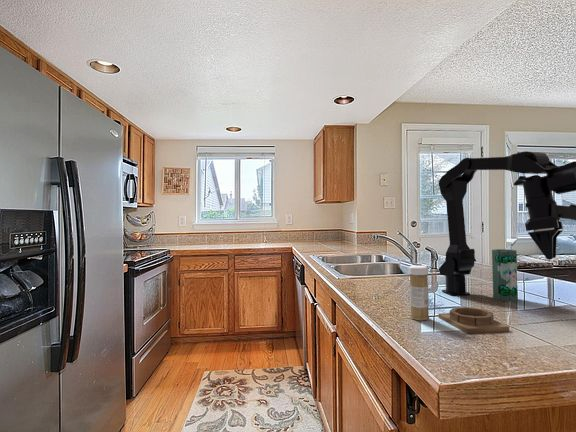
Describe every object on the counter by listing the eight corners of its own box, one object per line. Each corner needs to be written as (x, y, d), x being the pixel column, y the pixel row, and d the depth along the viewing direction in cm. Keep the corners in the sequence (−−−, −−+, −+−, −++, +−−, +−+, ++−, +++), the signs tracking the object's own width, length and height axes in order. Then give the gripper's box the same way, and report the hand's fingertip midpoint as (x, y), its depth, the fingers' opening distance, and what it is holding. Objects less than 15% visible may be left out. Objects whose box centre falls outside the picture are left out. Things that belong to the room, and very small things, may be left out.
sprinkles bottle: (419, 314, 90) (417, 264, 90) (433, 319, 86) (431, 266, 86) (406, 317, 88) (405, 266, 88) (420, 322, 84) (418, 268, 84)
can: (505, 302, 100) (503, 251, 100) (489, 297, 106) (487, 249, 106) (522, 300, 101) (521, 250, 101) (505, 296, 107) (504, 248, 107)
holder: (438, 317, 87) (438, 306, 87) (475, 315, 88) (475, 304, 88) (466, 333, 75) (466, 320, 75) (509, 330, 76) (508, 318, 76)
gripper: (578, 187, 76) (594, 257, 73) (580, 195, 89) (593, 254, 87) (519, 197, 83) (531, 261, 80) (529, 203, 97) (540, 258, 94)
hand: (551, 258), depth 85 cm, fingers open, 9 cm apart
